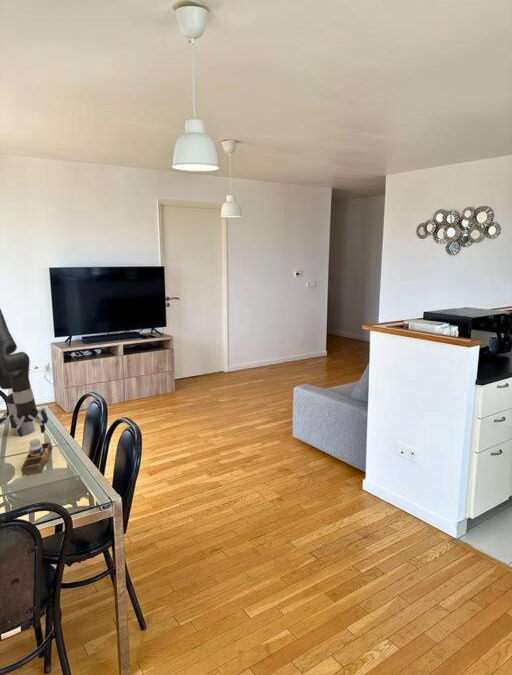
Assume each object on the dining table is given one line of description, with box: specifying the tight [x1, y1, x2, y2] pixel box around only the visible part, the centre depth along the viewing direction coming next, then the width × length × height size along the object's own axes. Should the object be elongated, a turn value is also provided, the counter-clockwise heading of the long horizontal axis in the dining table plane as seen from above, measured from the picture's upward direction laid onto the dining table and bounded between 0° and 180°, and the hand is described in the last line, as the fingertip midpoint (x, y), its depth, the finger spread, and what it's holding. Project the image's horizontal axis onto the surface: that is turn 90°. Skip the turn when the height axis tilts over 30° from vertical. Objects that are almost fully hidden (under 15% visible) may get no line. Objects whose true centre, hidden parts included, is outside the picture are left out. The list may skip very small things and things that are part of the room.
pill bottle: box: [28, 438, 44, 458], centre depth 201 cm, size 5×5×9 cm
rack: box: [20, 441, 53, 477], centre depth 202 cm, size 21×8×4 cm, turn 11°
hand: (32, 434), depth 199 cm, fingers open, 8 cm apart
